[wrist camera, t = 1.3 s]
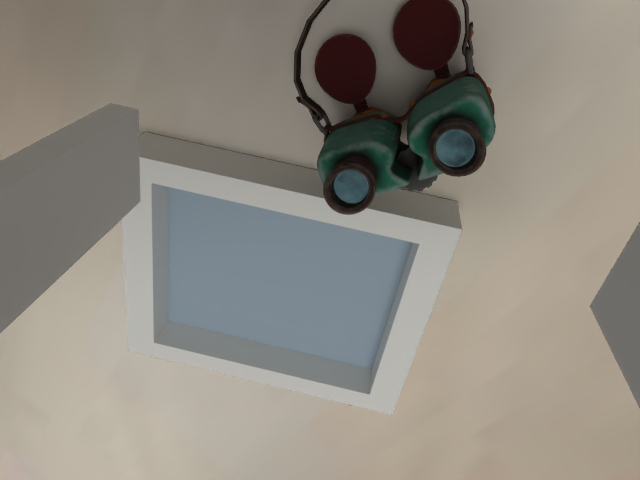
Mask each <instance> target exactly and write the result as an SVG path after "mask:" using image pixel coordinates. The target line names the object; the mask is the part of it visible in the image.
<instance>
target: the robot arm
mask: <svg viewBox="0 0 640 480" xmlns="http://www.w3.org/2000/svg"><path fill="white" fill-rule="evenodd" d="M139 202H140V161H139V118H138V109H134V108H129V107H125V106H120V105H116V104H111V103H110V104H108V105H106V106H105V107H103V108H101V109H99V110H97V111H95V112H93V113H91V114H89V115H87V116H85V117H84V118H82V119H80V120H78V121H76V122H74V123H72V124H70V125H68V126H66V127H64V128H63V129H61V130H59V131H57V132H55V133H53V134H51V135H49V136H47V137H45V138H43V139H42V140H40V141H38V142H36V143H34V144H32V145H30V146H28V147H26V148H24V149H23V150H21V151H19V152H17V153H15V154H13V155H11V156H9V157H7V158H5V159H3V160H2V161H0V333H1V332H2V331H3V330H4V329H5V328H7V327H8V326H9V325H10V324H11V323H12V322H13V321H14V320H15V319H16V318H17V317H18V316H19V315H20V314H21V313H22V312H23V311H25V310H26V309H27V308H28V307H29V306H30V305H31V304H32V303H33V302H34V301H35V300H36V299H37V298H38V297H39V296H40V295H42V294H43V293H44V292H45V291H46V290H47V289H48V288H49V287H50V286H51V285H52V284H53V283H54V282H55V281H56V280H57V279H59V278H60V277H61V276H62V275H63V274H64V273H65V272H66V271H67V270H68V269H69V268H70V267H71V266H72V265H73V264H74V263H76V262H77V261H78V260H79V259H80V258H81V257H82V256H83V255H84V254H85V253H86V252H87V251H88V250H89V249H90V248H91V247H93V246H94V245H95V244H96V243H97V242H98V241H99V240H100V239H101V238H102V237H103V236H104V235H105V234H106V233H107V232H108V231H110V230H111V229H112V228H113V227H114V226H115V225H116V224H117V223H118V222H119V221H120V220H121V219H122V218H123V217H124V216H125V215H127V214H128V213H129V212H130V211H131V210H132V209H133V208H134V207H135V206H136V205H137V204H138V203H139ZM590 308H591V310H592V312H593V314H594V316H595V318H596V320H597V322H598V324H599V326H600V328H601V330H602V332H603V334H604V336H605V338H606V340H607V342H608V344H609V346H610V349H611V351H612V353H613V355H614V357H615V359H616V361H617V363H618V365H619V367H620V369H621V371H622V373H623V375H624V377H625V379H626V381H627V383H628V385H629V387H630V389H631V391H632V394H633V396H634V398H635V400H636V402H637V404H638V406H639V408H640V222H639V224H638V225H637V227H636V229H635V230H634V232H633V234H632V236H631V237H630V239H629V241H628V242H627V244H626V246H625V247H624V249H623V251H622V252H621V254H620V256H619V258H618V259H617V261H616V263H615V264H614V266H613V268H612V269H611V271H610V273H609V274H608V276H607V278H606V280H605V281H604V283H603V285H602V286H601V288H600V290H599V291H598V293H597V295H596V296H595V298H594V300H593V301H592V303H591V305H590Z"/></svg>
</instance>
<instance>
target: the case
mask: <svg viewBox="0 0 640 480" xmlns="http://www.w3.org/2000/svg"><path fill="white" fill-rule="evenodd" d="M139 161H140V202H139V203H138V204H137V205H136V206H135V207H134V208H133V209H132V210H131V211H130V212H129V213H128V214H127V215H125V216H124V217H123V218H122V219H121V226H122V245H123V264H124V283H125V302H126V321H127V340H128V351H130V352H134V353H138V354H142V355H147V356H151V357H155V358H159V359H163V360H167V361H171V362H175V363H180V364H184V365H188V366H192V367H196V368H200V369H204V370H209V371H213V372H217V373H221V374H225V375H229V376H233V377H237V378H242V379H246V380H250V381H254V382H258V383H262V384H266V385H270V386H275V387H279V388H283V389H287V390H291V391H295V392H299V393H303V394H308V395H312V396H316V397H320V398H324V399H328V400H332V401H336V402H341V403H345V404H349V405H353V406H357V407H361V408H365V409H370V410H374V411H378V412H382V413H386V414H390V415H392V414H393V411H394V408H395V406H396V403H397V400H398V398H399V395H400V392H401V390H402V387H403V385H404V382H405V379H406V377H407V374H408V371H409V369H410V366H411V363H412V361H413V358H414V356H415V353H416V350H417V348H418V345H419V342H420V340H421V337H422V335H423V332H424V329H425V327H426V324H427V321H428V319H429V316H430V313H431V311H432V308H433V306H434V303H435V300H436V298H437V295H438V292H439V290H440V287H441V284H442V282H443V279H444V277H445V274H446V271H447V269H448V266H449V263H450V261H451V258H452V255H453V253H454V250H455V248H456V245H457V242H458V240H459V237H460V234H461V232H462V225H461V220H460V214H459V208H458V203H457V201H453V200H448V199H444V198H439V197H435V196H430V195H426V194H421V193H417V192H412V191H408V190H403V189H397V190H394V191H391V192H388V193H385V194H381V195H378V196H374V198H373V201H372V202H371V203H370V205H369V206H368V207H367V208H366V209H365V210H363V211H361V212H359V213H356V214H352V215H345V214H340V213H337V212H336V211H334V210H333V209H332V208H330V207H329V206H328V204H327V202H326V201H325V198H324V195H323V183H322V181H321V178H320V176H319V172H318V170H314V169H309V168H305V167H300V166H296V165H291V164H287V163H282V162H278V161H273V160H269V159H264V158H260V157H255V156H251V155H246V154H242V153H237V152H233V151H228V150H224V149H219V148H215V147H210V146H206V145H201V144H197V143H192V142H188V141H183V140H179V139H174V138H170V137H165V136H161V135H156V134H152V133H148V132H144V133H143V134H142V135H140V136H139Z"/></svg>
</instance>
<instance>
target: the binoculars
mask: <svg viewBox="0 0 640 480" xmlns="http://www.w3.org/2000/svg"><path fill="white" fill-rule="evenodd" d="M329 1H330V0H323V1H322V2H321V4H320V5H319V6H318V7H317V9H316V10H315V11H314V12H313V14H312V15H311V16H310V17H309V19H308V20H307V21H306V24H305V27H304V29H303V32H302V34H301V37H300V39H299V42H298V45H297V47H296V50H295V53H294V83H295V86H296V88H297V91H298V93H299V96H300V97H296V99H297V100H298V102H299V103H302V104H303V105H304V106H306V107H307V108H308V109H309V111H310V113H311V116H312V118H313V121H314V123H315V124H316V125H317V127H318V128H319V130H320V131H321V132H322V133H323V134H324V135H325V137H324V145H323V147H322V150H321V152H320V154H319V156H318V160H317V168H318V172H319V176H320V178H321V181H322V183H323V195H324V198H325V201H326V202H327V204H328V206H329V207H330V208H332V209H333V210H334V211H336V212H337V213H340V214H345V215H352V214H356V213H359V212H361V211H363V210H365V209H366V208H367V207H368V206H369V205H370V203H371V202H372V201H373V198H374V196H378V195H381V194H385V193H388V192H391V191H394V190H397V189H399V188H406V189H408V191H412V192H413V190H418V191H422V190H423V189H424V188H426V187H428V188H429V187H430V186H431V185H432V182H433V181H434V180H435V181H436V179H437V177H438V175H439V174H441V173H445V174H447V175H451V176H458V177H460V176H466V175H469V174H472V173H473V172H475V171H476V170H477V169H478V168H479V167H480V166H481V165H482V163H483V162H484V159H485V156H486V147H487V146H488V145H489V144H490V142H491V141H492V139H493V137H494V134H495V128H496V125H495V121H494V114H495V113H494V103H493V101H492V98H491V96H490V93H491V89H490V88H489V87H487V86H486V84H485V82H484V81H483V80H482V78H481V77H480V76H479V75H478V74H477V73H476V72H475V69H474V67H473V60H472V55H473V46H472V41H471V36H472V35H473V33H474V32H473V30H472V28H473V22H471V23H470V24H469V7H468V4H467V1H466V0H462V2H463V5H464V10H465V37H464V41H463V45H462V53H463V55H464V56H465V62H466V69H465V70H464V71H462V72H460V73H457V74H454V75H450V72H449V68H448V65H447V62H448V61H449V60H450V58H451V57H452V56H453V54H454V52H455V50H456V48H457V45H458V43H459V39H460V33H461V21H460V16H459V14H458V11H457V9H456V8H455V6H454V5H453V4H452V3H451V2H450V1H449V0H410V1H408V2H407V3H406V4H405V5H404V6H403V7H402V8H401V10H400V11H399V13H398V14H397V17H396V19H395V23H394V28H393V37H394V41H395V44H396V47H397V49H398V51H399V52H400V53H401V55H402V56H403V57H404V58H405V59H406V60H407V61H408V62H409V63H411V64H412V65H414V66H416V67H418V68H421V69H424V70H434V72H435V75H436V78H435V79H433V80H432V81H431V83H430V84H429V85H428V88H427V90H426V91H425V92H424V93H422V94H421V95H420V96H419V97H418V98H417V99H416V100H415V101H414V102H412V103H410V106H409V107H410V109H409V110H408V112H407V113H406V114H405V115H403V116H402V117H396V116H394V115H392V114H389V113H385V112H382V111H381V110H379V109H376V108H372V107H368V105H367V102H366V100H365V98H366V96H367V95H368V94H369V93H370V91H371V88H372V86H373V83H374V80H375V74H376V61H375V57H374V53H373V52H372V50H371V48H370V46H369V45H368V44H367V43H366V42H365V41H364V40H362V39H361V38H359V37H357V36H355V35H350V34H341V35H337V36H334V37H332V38H331V39H329V40H327V41H326V42H325V43H324V44H323V45H322V47H321V48H320V50H319V51H318V54H317V56H316V60H315V74H316V78H317V80H318V82H319V84H320V86H321V87H322V88H323V90H324V91H325V92H326V93H327V94H328V95H330V96H331V97H332V98H334V99H336V100H337V101H340V102H343V103H346V104H354V107H355V110H356V112H357V113H356V114H355V115H354V117H353V118H352V119H349V120H345V121H342V122H340V123H338V124H337V125H334V126H332V125H331V123H330V121H329V119H328V117H327V115H326V113H325V111H324V110H323V109H322V108H321V107H320V106H319V105H318V104H317V103H316V102H314V101H313V100H312V99H311V98H309V97H308V96H307V94H306V91H305V89H304V86H303V84H302V81H301V79H300V73H301V50H302V48H303V45H304V43H305V40H306V38H307V35H308V33H309V30H310V28H311V25H312V22H313V21H314V19H315V18H316V17H317V16H318V14H319V13H320V12H321V11H322V9H323V8H324V7H325V6H326V5H327V3H328V2H329ZM467 42H468V45H469V47H467ZM408 116H409V119H408V124H407V140H408V145H406V144H404V143H403V142H401V141H400V135H401V130H402V124H401V122H403V121H404V120H406V119H407V118H408ZM322 118H324V120H325V122H326V124H327V125H326V126H325V127H323V126H322V125H321V123H320V122H319V121H320V120H322ZM330 131H331V132H330ZM329 132H330V133H329Z"/></svg>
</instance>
